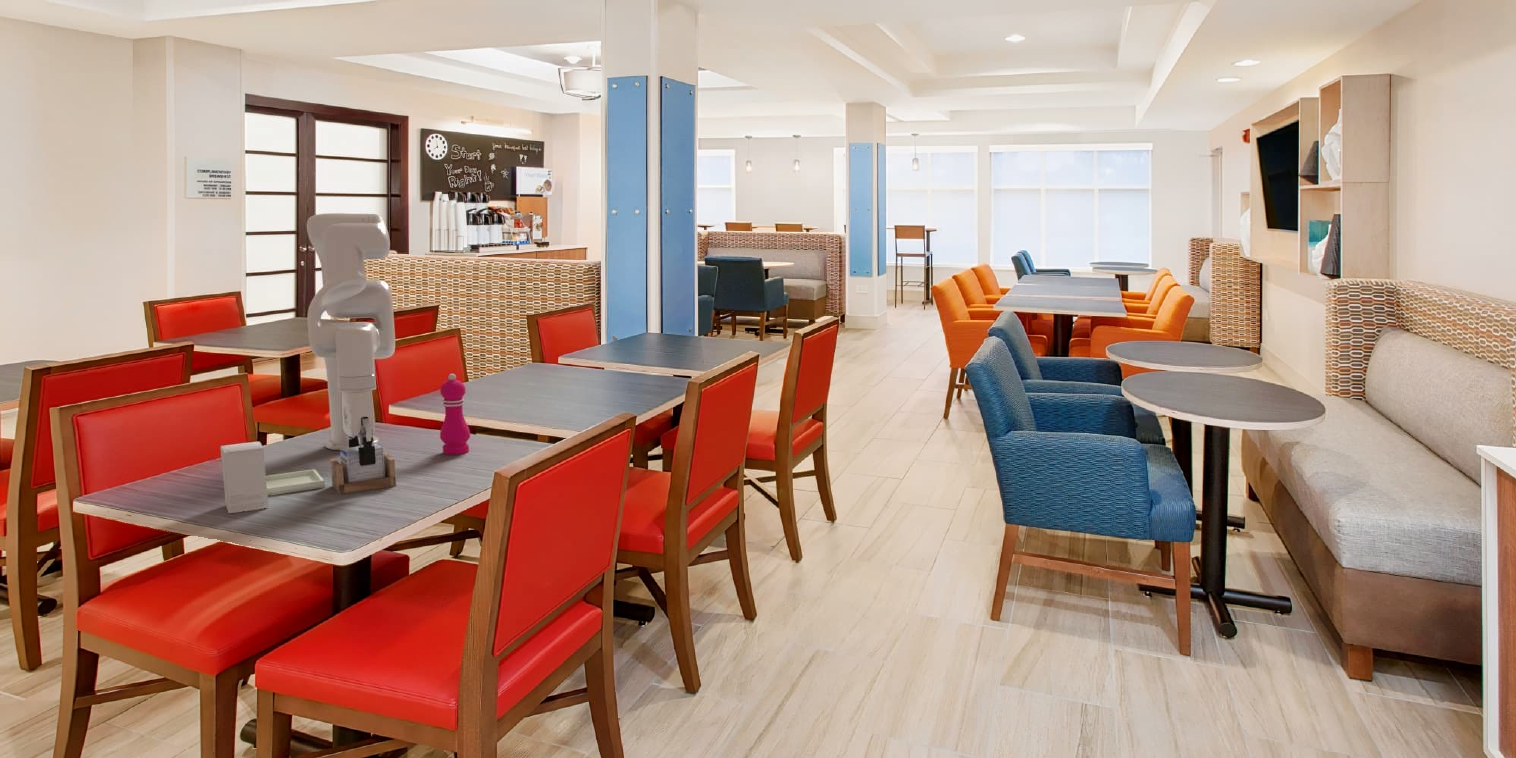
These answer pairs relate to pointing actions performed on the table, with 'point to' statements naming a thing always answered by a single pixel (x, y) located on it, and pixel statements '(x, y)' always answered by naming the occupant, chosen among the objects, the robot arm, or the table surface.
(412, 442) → the table surface
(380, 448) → the medicine box
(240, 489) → the supplement box
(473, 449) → the table surface
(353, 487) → the holder
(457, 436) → the pepper mill
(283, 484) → the tray
